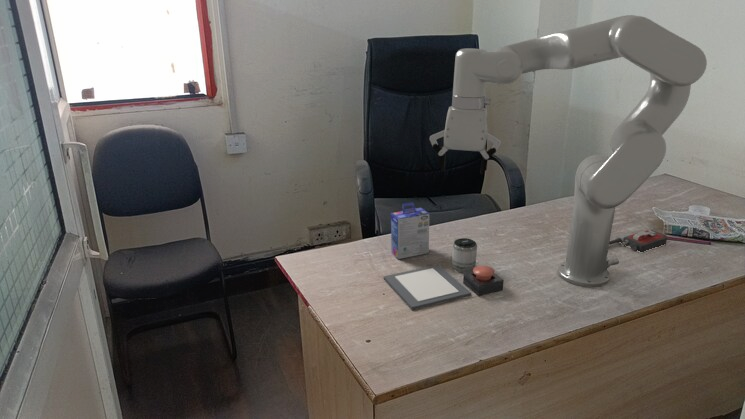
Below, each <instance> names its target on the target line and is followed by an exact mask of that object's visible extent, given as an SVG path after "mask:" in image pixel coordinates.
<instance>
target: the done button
mask: <svg viewBox="0 0 745 419" xmlns="http://www.w3.org/2000/svg"><path fill="white" fill-rule="evenodd" d="M473 273H474V274H475V275H476V278H477V279H478V280H479V281H480V282H483V281H487V280H491V277H492V276H493V275H494V274H495V273H496V272H495V269H494V268H493V267H490V266H488V265H477V266H475V267H474V269H473Z"/></svg>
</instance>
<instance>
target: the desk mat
mask: <svg viewBox="0 0 745 419" xmlns="http://www.w3.org/2000/svg"><path fill="white" fill-rule="evenodd" d="M383 280H384V282H386V284H387V285H388V286H389V287H390V289H391V290H393V292H394V293H396V295H397V296H398V297H399V298H400V299H401V300H402V301H403V303H405V305H406V306H407V307H408V308H409V309H410V310H411V311H414V310H418V309H422V308H426V307H427V308H428V307H430V306H434V305H439V304H443V303H446V302H451V301H455V300H459V299H463V298H467V297H471V296H472V292H471V291H470V290H468V289H467V288H466V287H465V286H464V284H462V283H461V282H459V281H458V280H457V279H456V278H455V277H453V275H451V274H450V273H449V272H448V271H447V270H445V269H444V268H443V267H441V265H439V264H436V265H435V264H434V265H431V266H425V267H420V268H417V269H413V270H412V269H411V270H408V271H403V272H398V273H394V274H393V273H391V274H388V275H384V276H383Z"/></svg>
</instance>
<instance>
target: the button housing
mask: <svg viewBox="0 0 745 419" xmlns="http://www.w3.org/2000/svg"><path fill="white" fill-rule="evenodd" d="M462 281H463V282H462V285H465V286H466V287H467V288H468V289H469V291H470V290H471V291H472V292H473V293H474V294H475V295H476V296H477V297H481V296H482V297H483V296H486V295H489V294H495V293H498V292H502V291H503V290H504V283H505V282H504V281H505V280H504V279H503V277H501V276H499V275H498V274H497V273H496V272H495V274H494V275H493V276H492V277H491V280H487V281H483V282H480V281H479V280H478V279H477V278H476V275H475V274H474V273H473V271H469V272H465V273H463V280H462Z"/></svg>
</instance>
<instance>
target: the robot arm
mask: <svg viewBox="0 0 745 419" xmlns="http://www.w3.org/2000/svg"><path fill="white" fill-rule="evenodd" d="M619 58H624V59H626V60H627V61H629V62H630V63H632V64H634V65H635V66H637V67H638V68H640V69H642V70H644V71H646V72H647V73H649V75H650V83H649V86H648V89H647V91H646V93H645V94H644V96H643V97H642V99H641V100H640V101H639V102H638V103H637V105H636V106H635V107H634V108H633V109H632V110H631V112H630V113H629V114H628V115H626V117H625V118H624V119H623V121H622V122H620V124H619V125H618V126H616V128H615V129H614V130H613V132H612V133H611V135H610V137H609V146H610V148H611V151H612V153H611V155H610V156H606V155H604V154H593V155H590V156H588V157H586V158H584V159H583V160H582V161H581V162H580V163H579V165H578V167H577V169H576V172H575V177H574V195H573V204H572V205H573V206H572V214H571V220H570V226H569V227H570V228H569V235H568V236H569V237H568V240H567V242H568V243H567V249H566V256H565V261H564V262H561V263H560V264H559V265H558V268H557V273H558V275H559V276H560V277H561V279H563V280H565V281H566V282H568V283H570V284H573V285H576V286H581V287H587V288H589V287H590V288H591V287H592V288H593V287H594V288H595V287H601V286H605V285H607V284H608V283H610V280H611V274H610V272H609V270H608V269H609V268H610V267H611V266H617V265H619V263H620V259H619V258H618V257H617V256H615V257H610V258H608V254H609V253H608V252H609V248H610V245H609V242H610V241H611V236H612V235H611V234H612V229H613V223H614V218H615V212H616V207H618V206H620V205H622V204H623V203H624V202H625V201H627V200H628V199H629V198H630V197H631V196H632V195H633V194H634V193H635V192H637V190H638V189H639V188H640V187H641V186H642V185H643V184H644V183H645V182H646V181H647V180H648V179H649V178H650V176H651V175H653V173H654V172H655V171H656V170H657V169H659V167H660V165H661V163H662V162H663V161H664V158H665V157H666V152H667V143H666V139H664V136H663V135H664V134H665V133H666V132H667V130H668V129H669V128H670V127H671V126H672V125H673V123H675V121H676V120H677V119H678V117H679V116H680V115H681V114H682V113H683V111H684V110H685V108H686V106H687V104H688V102H689V98H690V95H691V94H690V93H691V87H692V85H693V84H695V83H696V82H698V81H699V80H700V79H701V78H702V77H703V76H704V73H705V72H706V69H707V64H708V63H707V62H708V61H707V56H706V54H705V52H704V51H703V50H702V49H701V48H700V47H699V46H697V45H696V44H694V43H692V42H690V41H688V40H686V39H685V38H683V37H681V36H679V35H678V34H677V33H676V34H675V32H672V31H671V30H668V29H667V28H665V27H663V26H662V25H660V24H659V23H657V22H655V21H653V20H652V19H649V18H647V17H645V16H641V15H632V14H628V15H621V16H617V17H613V18H609V19H605V20H602V21H598V22H594V23H591V24H587V25H582V26H579V27H575V28H571V29H567V30H563V31H557V32H555V33H551V34H548V35H543V36H541V37H536V38H532V39H528V40H523V41H520V42H516V43H511V44H508V45H504V46H501V47H498V48H496V49H495V50H494V51H487V50H485V49H482V48H481V49H480V48H472V47H470V48H469V47H468V48H460V49H458V50H457V52H456V53H455V59H454V60H455V61H454V72H453V86H452V98H451V99H452V100H451V106H448V110H447V113H446V120H445V127H444V129H443V130H441V131H439V132H436V133H433V134H432V135H430V136H429V141H430V144H431V146H432V148H433V149H434V151H435V152H436V153H437V155H438V167H439V168H441V169H440V172H443V173H444V172H445V170H446V158H447V156H446V155H447V154H446V152H448V151H449V150H454V151H470V152H479V153H480V154H481V162H480V170H479V171H480V172H479V173H480V176H481V175H482V176H483V175H484V171H487V168H488V160H489V158H490V157H492V156H493V155H494V154H495V153H496V152H497V151H498V149H499V148H500V146H501V144H502V141H501V140H500V139H498V138H497V137H495V136H494V135H492V134H490V133H489V132H488V109H487V108H486V106H490V105H491V102H492V101H491V99H490V98H486V97H485V96H486V89H487V87H486V86H487V83H491V84H496V85H503V86H504V85H511V84H513V83H514V82H516V81H518V79H519V78H520V77H521V75H523V74H528V73H532V72H536V71H542V70H565V71H566V70H574V69H578V68H581V67H585V66H589V65H594V64H598V63H602V62H606V61H610V60H616V59H619ZM440 138H443V146H440V144H439V143H438V141H437V140H438V139H440ZM487 141H489V142H490V143H491V144H493V145H492V147H490V148H489V149H488V150H487V149H486V145H487Z"/></svg>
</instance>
